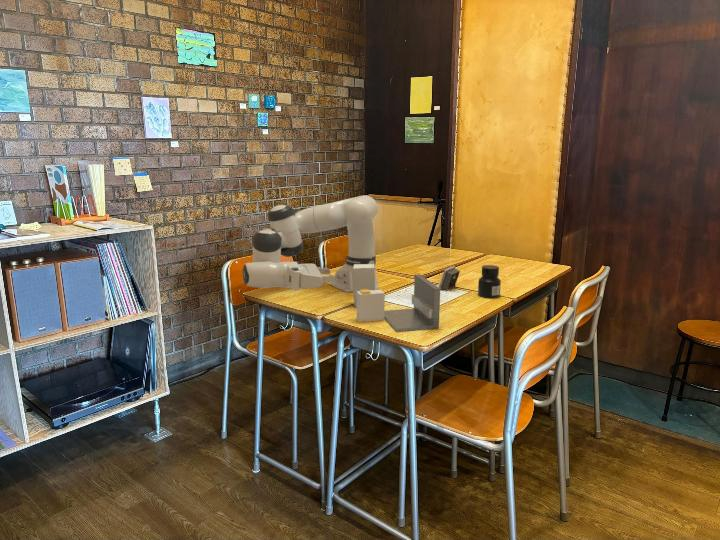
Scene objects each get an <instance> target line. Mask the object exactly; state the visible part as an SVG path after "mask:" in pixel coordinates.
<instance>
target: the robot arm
mask: <svg viewBox="0 0 720 540" xmlns="http://www.w3.org/2000/svg"><path fill="white" fill-rule="evenodd" d="M377 213H378V203H377V201H376V200H375V198H373V197H372V196H369V195H359V196H355V197H350V198H345V199H342V200H338V201H334V202H330V203H324V204H320V205H315V206H311V207H307V208H305V209H301V210H300V211H298V210H297V209H295V208H293V207H291V205H288V204H280V205H279V204H278V205H275V206H274V207H272V208H271V209H269V211H268V212H267V220H268V222H269V225H270V227H261V228H259V229H258V231H256V232H255V233H254V234H253V235H252V237H251V238H252V240H251V242H252V243H251V244H252V262H246V263H244V264H243V267H242V280H243V283H244V285H245V286H246V287H251V288H261V289H263V288H265V289H272V288H274V287H275V288H276V287H277V288H281V289H283V288H285V289H287V288H288V289H291V290H293V291H299V290H300V289H316V288H322V287H323V284H324V283H328V282H329V283H328V284H330V286H331V285H332V287H333V286H334V288H336V289H338V290H340V289H341V290H340V291H342V290H343V292H344V293H354V278H353V267H354V264H374V266H375V290H379V283H378V278H377V269H376V263H377V258H376V257H377V256H376V255H375V254H376V253H375V252H376V249H375V248H376V238H375V233H374V232H375V231H374V223H373V220H374V218H375V217H376V215H377ZM344 227H346V229H347V230H346V231H347V236H348V255H346V256H344V260H345V263H344V264H343V265H342V266H341V267H339V268H338V269H336V271H335V273H334V274H331V273H332V272H331V268H323V267H318V266H317V265H316V264H315V263H298V261H282V257H281V256H283V257H286V258H290V257H294V256H295V257H296V256H297V255H299V254H300V253H302V252H303V250H304V242H303V240H302V234H316V233H322V232H327V231H331V230H336V229H337V230H338V229H341V228H344Z"/></svg>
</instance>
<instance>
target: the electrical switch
mask: <svg viewBox="0 0 720 540" xmlns="http://www.w3.org/2000/svg"><path fill="white" fill-rule="evenodd" d="M460 273H461V270H459V269H456V266H454V265H453V266H450V267H447V268H446V269H444V270H443V272H442V277H441V280H440V282H439V284H438V285H439V286H438V287H439V288H440V291H441V290H444V291H450V290H452V289H453V288H455V287H456V284H457V282H458V279H459V275H460Z"/></svg>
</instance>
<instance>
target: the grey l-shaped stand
mask: <svg viewBox="0 0 720 540" xmlns="http://www.w3.org/2000/svg"><path fill="white" fill-rule="evenodd" d="M413 279H414V284H413V294H412V295H411V305H412V306H413V308H402V309H401V308H400V309H389V310H387V309H386V310H384V321H385V322H387V323H388V324H389V325H390V326H391V327H392V328H393V329H394V331H395V332H396V333H401V332H411V331H421V330H422V331H423V330H433V329H434V330H435V329H439V328H440V310H441V309H440V306H441V290H440V288H439V286H437V285H436V284H434V283H433V282H432V281H431V280H428V279H427V278H426V277H425V276H423V275H422V274H419V273H418V274H414V278H413Z"/></svg>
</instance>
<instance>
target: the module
mask: <svg viewBox="0 0 720 540" xmlns="http://www.w3.org/2000/svg"><path fill="white" fill-rule="evenodd" d="M385 294H386V293H385V292H384V290H382V289H376V290H368V289H364V290H360V291H357V307H356V320H358V322H359V321H360V323H363V321H366V322H376V321H377V322H378V320H379V321H385V318H384V311H385V298H386V295H385Z"/></svg>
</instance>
